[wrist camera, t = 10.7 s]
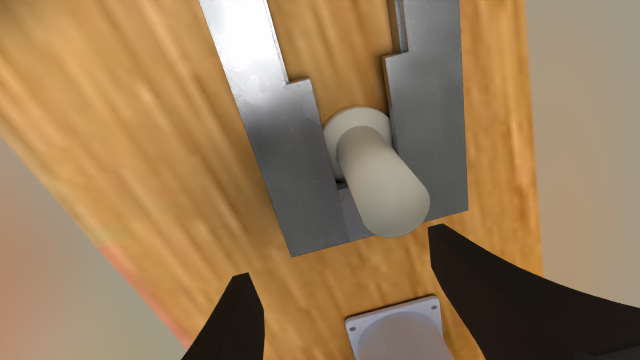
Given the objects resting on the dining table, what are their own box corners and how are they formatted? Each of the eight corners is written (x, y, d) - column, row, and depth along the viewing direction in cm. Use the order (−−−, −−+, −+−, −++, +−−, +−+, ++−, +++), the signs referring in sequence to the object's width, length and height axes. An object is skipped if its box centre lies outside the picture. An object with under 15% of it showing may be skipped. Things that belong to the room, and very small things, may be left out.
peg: (398, 170, 23) (453, 241, 16) (326, 186, 23) (347, 266, 16) (391, 96, 20) (451, 141, 13) (310, 115, 20) (327, 169, 13)
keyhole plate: (453, 194, 24) (468, 210, 22) (290, 238, 24) (291, 257, 22) (428, -185, 15) (450, -213, 13) (167, -113, 15) (151, -131, 13)
